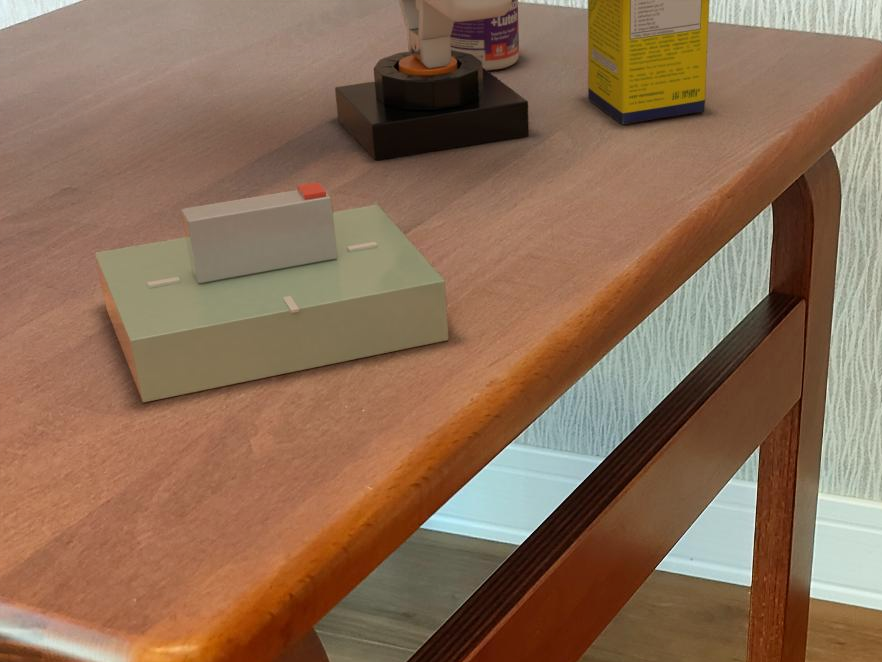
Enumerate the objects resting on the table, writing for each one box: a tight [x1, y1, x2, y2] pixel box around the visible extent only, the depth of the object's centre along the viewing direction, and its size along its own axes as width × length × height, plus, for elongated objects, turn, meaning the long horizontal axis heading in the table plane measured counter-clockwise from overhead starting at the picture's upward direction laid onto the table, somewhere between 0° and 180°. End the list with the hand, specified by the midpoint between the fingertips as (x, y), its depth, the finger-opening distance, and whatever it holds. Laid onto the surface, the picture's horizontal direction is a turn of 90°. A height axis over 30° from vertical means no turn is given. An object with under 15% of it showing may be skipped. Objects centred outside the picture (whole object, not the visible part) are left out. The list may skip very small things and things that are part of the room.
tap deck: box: [94, 204, 449, 403], centre depth 65 cm, size 14×11×3 cm
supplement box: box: [587, 0, 710, 125], centre depth 88 cm, size 6×6×11 cm
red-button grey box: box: [181, 181, 338, 283], centre depth 64 cm, size 6×2×3 cm, turn 113°
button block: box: [334, 50, 530, 161], centre depth 87 cm, size 10×8×4 cm
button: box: [399, 55, 457, 75], centre depth 87 cm, size 4×4×2 cm
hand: (430, 61), depth 86 cm, fingers closed, pressing on button
